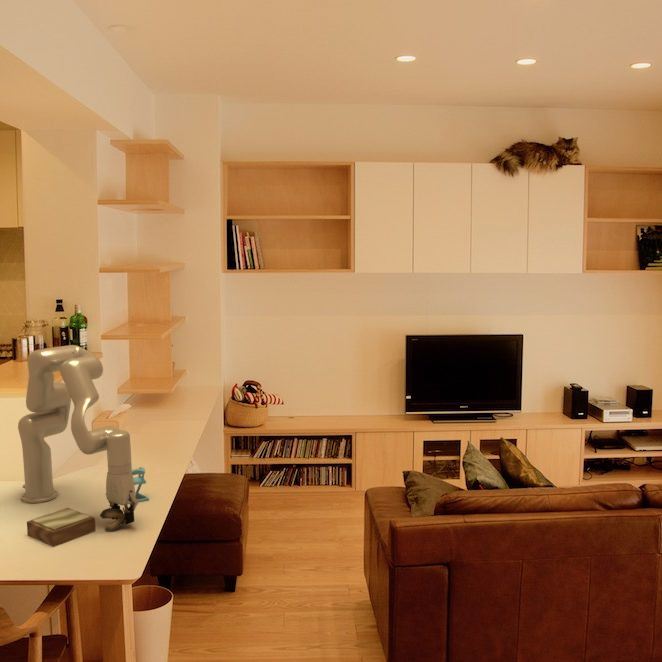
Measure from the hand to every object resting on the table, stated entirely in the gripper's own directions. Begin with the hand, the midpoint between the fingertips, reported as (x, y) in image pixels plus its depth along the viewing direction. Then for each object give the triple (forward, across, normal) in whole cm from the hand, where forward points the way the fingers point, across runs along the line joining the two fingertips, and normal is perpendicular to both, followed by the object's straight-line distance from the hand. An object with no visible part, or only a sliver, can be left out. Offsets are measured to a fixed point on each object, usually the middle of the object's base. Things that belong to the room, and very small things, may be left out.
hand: (122, 520), depth 245 cm
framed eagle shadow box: (+1, -10, -16) cm, 19 cm away
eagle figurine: (+2, 0, -2) cm, 3 cm away
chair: (+2, -16, +18) cm, 24 cm away
